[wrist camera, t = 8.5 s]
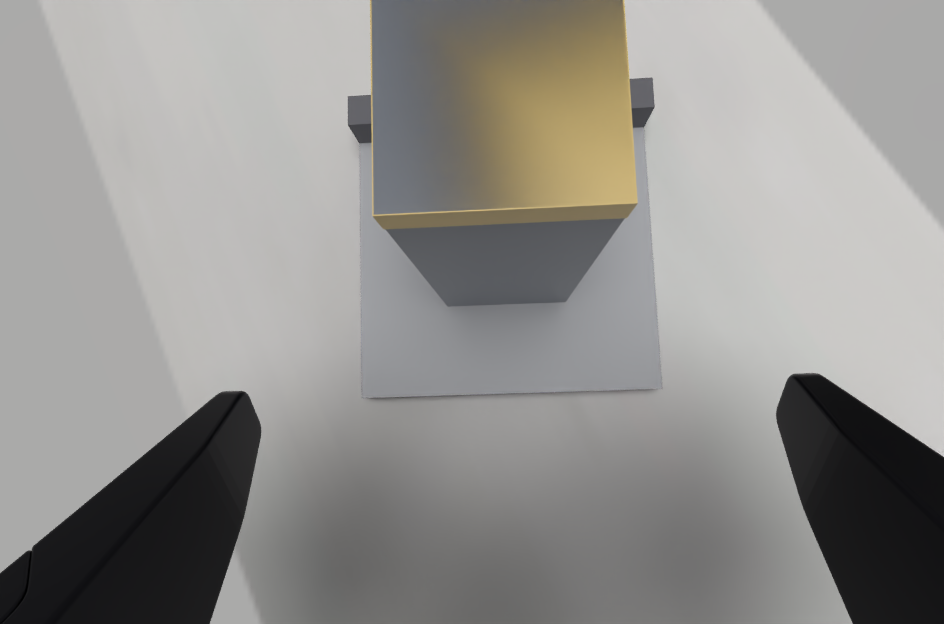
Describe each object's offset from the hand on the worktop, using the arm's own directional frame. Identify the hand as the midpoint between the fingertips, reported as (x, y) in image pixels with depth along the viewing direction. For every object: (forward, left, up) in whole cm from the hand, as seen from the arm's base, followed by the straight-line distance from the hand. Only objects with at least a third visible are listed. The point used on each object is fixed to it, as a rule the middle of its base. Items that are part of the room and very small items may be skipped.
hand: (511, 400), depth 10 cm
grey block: (+5, -1, -10) cm, 11 cm away
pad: (+5, -1, -11) cm, 12 cm away
